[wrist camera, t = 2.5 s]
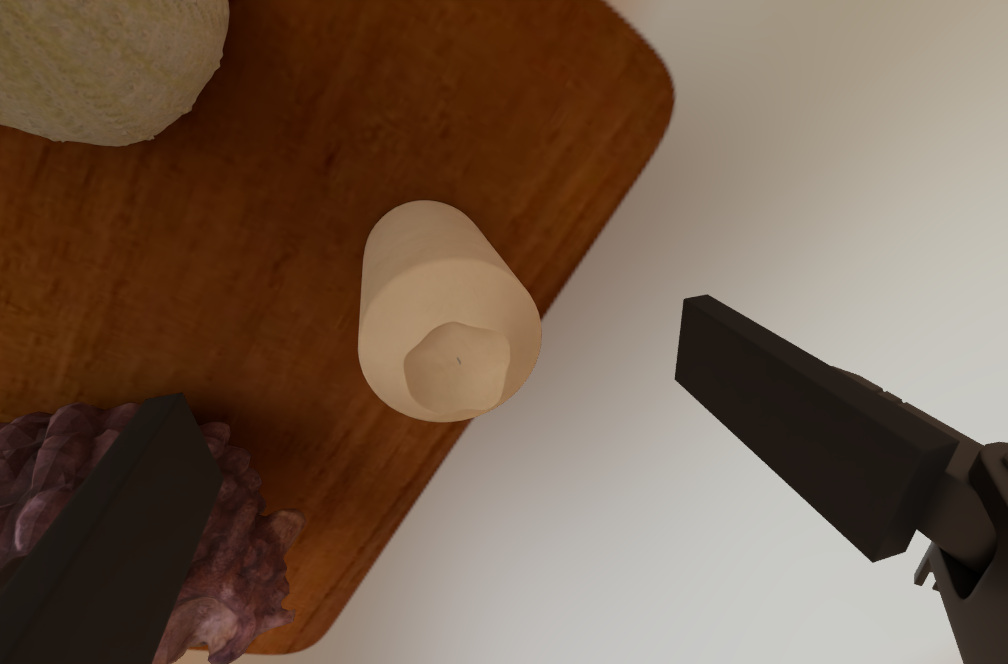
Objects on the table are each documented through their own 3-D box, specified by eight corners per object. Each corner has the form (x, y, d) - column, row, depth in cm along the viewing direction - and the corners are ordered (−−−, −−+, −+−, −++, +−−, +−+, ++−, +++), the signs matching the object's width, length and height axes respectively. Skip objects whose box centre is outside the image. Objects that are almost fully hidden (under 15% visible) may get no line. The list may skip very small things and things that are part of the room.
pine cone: (-75, 555, 22) (-508, 699, 12) (13, 350, 23) (-307, 324, 13) (305, 634, 23) (207, 816, 13) (365, 439, 25) (316, 476, 15)
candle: (439, 172, 20) (490, 233, 11) (506, 270, 22) (589, 380, 14) (336, 248, 20) (307, 364, 11) (414, 335, 23) (440, 482, 14)
